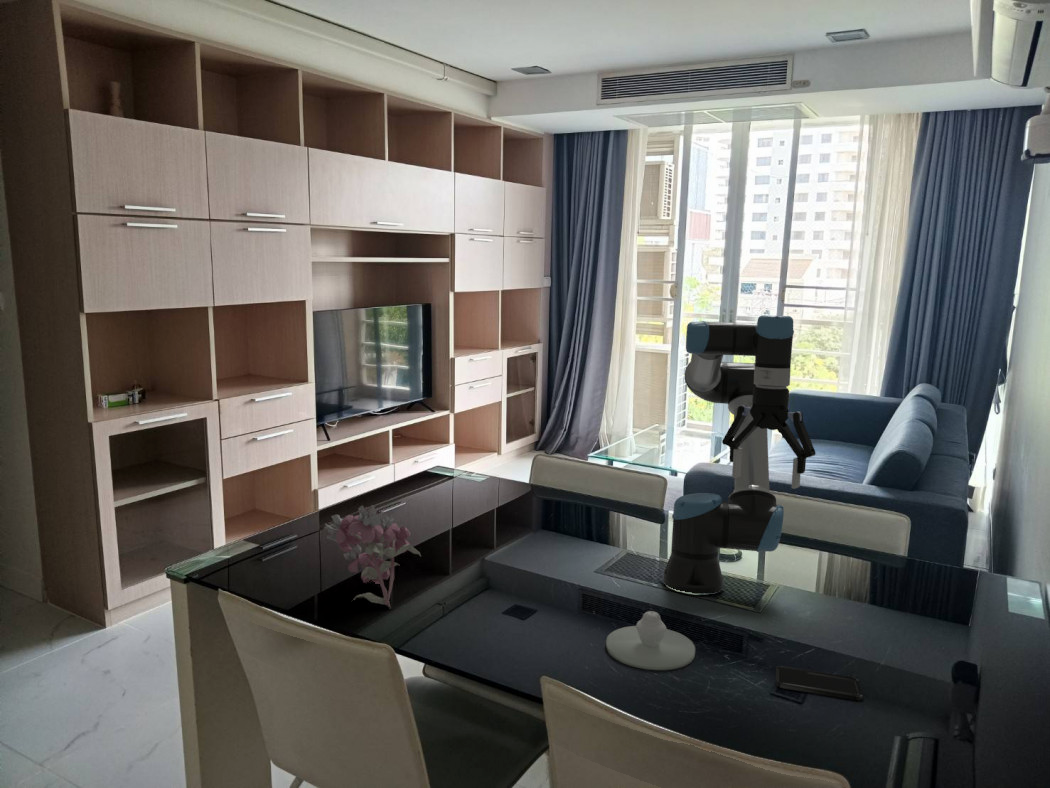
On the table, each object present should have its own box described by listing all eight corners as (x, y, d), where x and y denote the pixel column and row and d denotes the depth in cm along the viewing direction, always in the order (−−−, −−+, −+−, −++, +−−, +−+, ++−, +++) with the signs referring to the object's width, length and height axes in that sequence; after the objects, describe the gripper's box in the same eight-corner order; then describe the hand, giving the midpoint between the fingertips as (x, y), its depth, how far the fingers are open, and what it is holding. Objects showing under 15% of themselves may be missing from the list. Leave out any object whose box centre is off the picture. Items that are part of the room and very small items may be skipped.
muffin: (658, 653, 152) (660, 619, 151) (630, 645, 155) (631, 612, 155) (670, 642, 157) (671, 609, 157) (642, 635, 161) (643, 603, 160)
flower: (452, 585, 185) (420, 487, 189) (399, 607, 165) (365, 498, 169) (388, 607, 193) (358, 513, 197) (330, 631, 173) (299, 526, 177)
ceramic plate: (588, 643, 158) (588, 638, 158) (649, 624, 169) (649, 619, 169) (651, 678, 144) (651, 672, 144) (713, 655, 155) (713, 649, 155)
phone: (863, 697, 138) (776, 682, 142) (862, 703, 138) (775, 688, 142) (858, 678, 145) (776, 664, 150) (858, 683, 145) (775, 670, 150)
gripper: (710, 382, 171) (705, 475, 173) (823, 393, 155) (815, 495, 157) (725, 380, 176) (720, 470, 179) (835, 390, 160) (828, 489, 163)
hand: (765, 482), depth 168 cm, fingers open, 13 cm apart
